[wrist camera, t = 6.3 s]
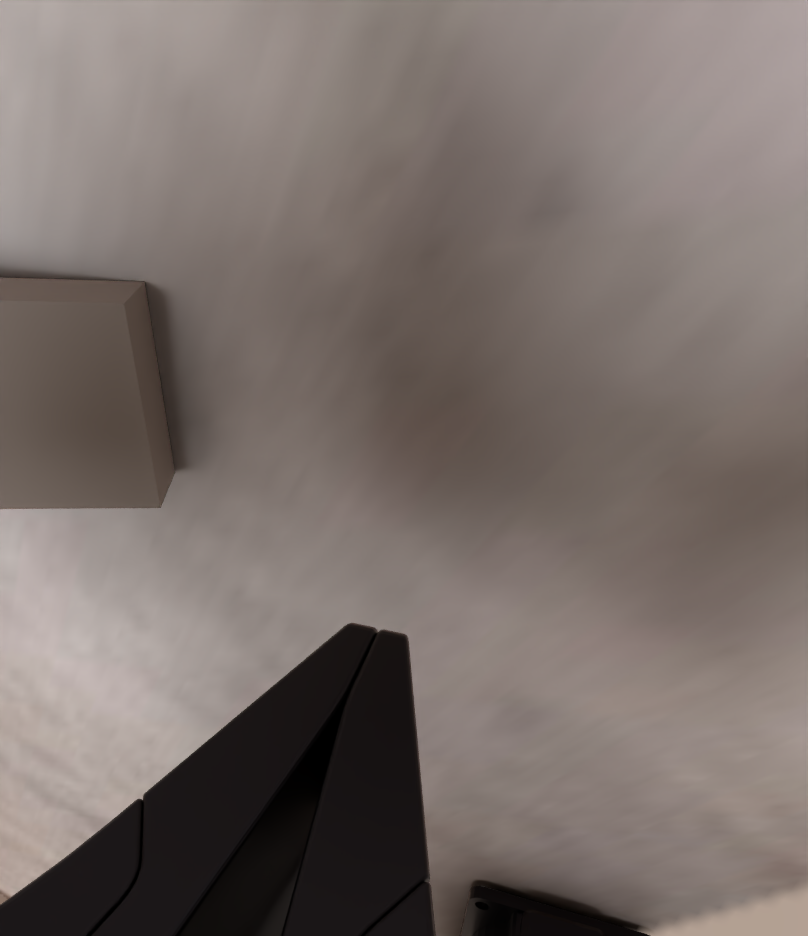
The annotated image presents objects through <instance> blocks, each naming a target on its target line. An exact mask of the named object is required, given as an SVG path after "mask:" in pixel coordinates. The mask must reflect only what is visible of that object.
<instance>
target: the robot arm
mask: <svg viewBox="0 0 808 936" xmlns="http://www.w3.org/2000/svg"><path fill="white" fill-rule="evenodd" d="M429 879H430V873H429V862H428V851H427V840H426V828H425V817H424V806H423V795H422V784H421V773H420V762H419V751H418V740H417V729H416V718H415V707H414V695H413V684H412V673H411V662H410V651H409V641H408V637H407V635H405V634H402V633H398V632H393V631H388V630H380V631H379V632H378V631H377V629H376V628H374V627H370V626H365V625H361V624H356V623H350V624H347V625H346V626H344V627H343V628H342V629H341V630H340V631H338V632H337V633H336V634H335V635H334V636H332V637H331V638H330V639H329V640H328V641H326V642H325V643H324V644H323V645H322V646H320V647H319V648H318V649H317V650H316V651H314V652H313V653H312V654H311V655H310V656H308V657H307V658H306V659H305V660H304V661H302V662H301V663H300V664H299V665H298V666H296V667H295V668H294V669H293V670H292V671H290V672H289V673H288V674H287V675H286V676H284V677H283V678H282V679H281V680H280V681H279V682H277V683H276V684H275V685H274V686H273V687H271V688H270V689H269V690H268V691H267V692H265V693H264V694H263V695H262V696H261V697H259V698H258V699H257V700H256V701H255V702H253V703H252V704H251V705H250V706H249V707H247V708H246V709H245V710H244V711H243V712H241V713H240V714H239V715H238V716H237V717H235V718H234V719H233V720H232V721H231V722H229V723H228V724H227V725H226V726H225V727H223V728H222V729H221V730H220V731H219V732H217V733H216V734H215V735H214V736H213V737H212V738H210V739H209V740H208V741H207V742H206V743H204V744H203V745H202V746H201V747H200V748H198V749H197V750H196V751H195V752H194V753H192V754H191V755H190V756H189V757H188V758H186V759H185V760H184V761H183V762H182V763H180V764H179V765H178V766H177V767H176V768H174V769H173V770H172V771H171V772H170V773H168V774H167V775H166V776H165V777H164V778H162V779H161V780H160V781H159V782H158V783H156V784H155V785H154V786H153V787H152V788H151V789H149V790H148V791H147V792H146V793H145V794H144V796H143V800H142V799H137V800H136V801H134V802H133V803H132V804H131V805H130V806H129V807H127V808H126V809H125V810H124V811H123V812H121V813H120V814H119V815H118V816H117V817H115V818H114V819H113V820H112V821H111V822H109V823H108V824H107V825H106V826H104V827H103V828H102V829H101V830H99V831H98V832H97V833H96V834H94V835H93V836H92V837H91V838H89V839H88V840H87V841H86V842H84V843H83V844H82V845H81V846H79V847H78V848H77V849H76V850H74V851H73V852H72V853H71V854H69V855H68V856H67V857H65V858H64V859H63V860H61V861H60V862H59V863H57V864H56V865H55V866H53V867H52V868H50V869H49V870H48V871H46V872H45V873H44V874H42V875H41V876H39V877H38V878H37V879H35V880H34V881H33V882H31V883H30V884H28V885H27V886H26V887H24V888H23V889H22V890H20V891H19V892H18V893H16V894H15V895H13V896H12V897H11V898H9V899H8V900H6V901H5V902H3V903H2V904H1V905H0V936H436V932H435V924H434V914H433V902H432V891H431V885H430V883H429ZM460 936H649V935H647V934H644V933H641V932H637V931H634V930H630V929H627V928H624V927H620V926H617V925H613V924H610V923H607V922H603V921H600V920H596V919H593V918H589V917H586V916H583V915H579V914H576V913H572V912H569V911H566V910H562V909H559V908H555V907H552V906H548V905H545V904H542V903H538V902H535V901H531V900H528V899H525V898H521V897H518V896H514V895H511V894H508V893H504V892H501V891H497V890H494V889H490V888H487V887H483V886H474V887H472V888H471V889H470V893H469V897H468V902H467V907H466V911H465V916H464V921H463V925H462V930H461V935H460Z"/></svg>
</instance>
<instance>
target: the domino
mask: <svg viewBox="0 0 808 936" xmlns="http://www.w3.org/2000/svg"><path fill="white" fill-rule="evenodd" d="M174 474H175V470H174V463H173V457H172V451H171V444H170V438H169V432H168V426H167V419H166V413H165V407H164V400H163V394H162V388H161V382H160V375H159V369H158V363H157V356H156V350H155V344H154V338H153V331H152V325H151V319H150V312H149V306H148V300H147V294H146V287H145V282H139V281H103V280H67V279H32V278H0V509H43V508H161V505H162V503H163V500H164V498H165V496H166V493H167V491H168V488H169V486H170V484H171V481H172V479H173V476H174Z"/></svg>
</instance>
